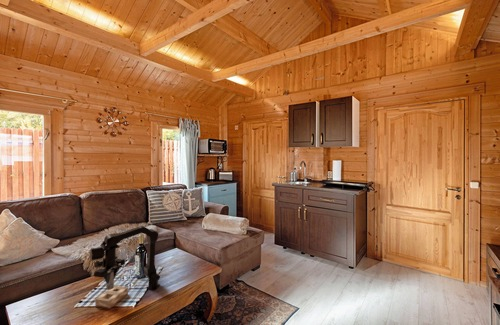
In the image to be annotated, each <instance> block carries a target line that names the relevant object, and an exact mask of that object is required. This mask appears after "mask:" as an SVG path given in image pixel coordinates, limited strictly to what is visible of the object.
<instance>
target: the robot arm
mask: <svg viewBox="0 0 500 325" xmlns="http://www.w3.org/2000/svg"><path fill="white" fill-rule="evenodd" d="M140 234H144V235H145V236H146V241H147V262H146V263H147V264H146V265H145V266H143V274H144V275H145V276H146V277H147V278H148V286H147V287H146V289H147V290H152V291H156V290H157V289H158V288H159V287H160V286H161V284H160V283H159V280H160V278H161V276H160V274H158V273H157V268H156V265H155V262H156V260H155V259H156V244H157V241H158V239H159V238H158V237H159V232H158V231H156V230H155V229H153V228H147V227H145V225H144V226H143V225H139V226H136V227H134V228H130V229H128V230H124V231H122V232H118V233H110V234H106V236H105V237H104V240H103V241H102V243H100V245H99V247H92V248H91V247H90V251H89V259H90V262H93V261H95V262H94V263H93V264H94V268H97V270H95V271H94V272H93V277H95V278H104V281H105V284H106V283H109V279H110V275H111V273H109V271H110V270H114V279H115V278H116V276H117V274H118V272H119V270H120V269H121V266H124V265H125V264H126V261H125V259H124V258H118V256H117V255H116V254H117V249H118V248H120V247H121V246H120V245H119V243H120V242H122V241H123V240H125V239H128V238H131V237H134V236H137V235H140ZM100 259H101V260H100ZM98 268H99V269H98Z"/></svg>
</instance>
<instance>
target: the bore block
mask: <svg viewBox="0 0 500 325" xmlns="http://www.w3.org/2000/svg"><path fill="white" fill-rule="evenodd" d="M128 293H129V288H128V287H126V286H118V285H114V288H113V289H110V290H107V289H106V291H104V292H103V293H102V294H100V295H99V296H98V297H96V298H95V299H94V300H95V303H94V304H95V307H97V308H103V309H109V310H110V309H111V308H113V307H114V306H116V305H117V304H118V303H119V302H120V301H122V300H123V299H124V298H125V297H127V295H128Z"/></svg>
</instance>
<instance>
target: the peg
mask: <svg viewBox="0 0 500 325" xmlns="http://www.w3.org/2000/svg"><path fill="white" fill-rule="evenodd" d="M109 273H111V275H110V279H109V283H106V282H105V284H106V286H105V288H106V291H107V290H110V289H113V288H114V286H115V278H114V270H111V269H110V270H109Z"/></svg>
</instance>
